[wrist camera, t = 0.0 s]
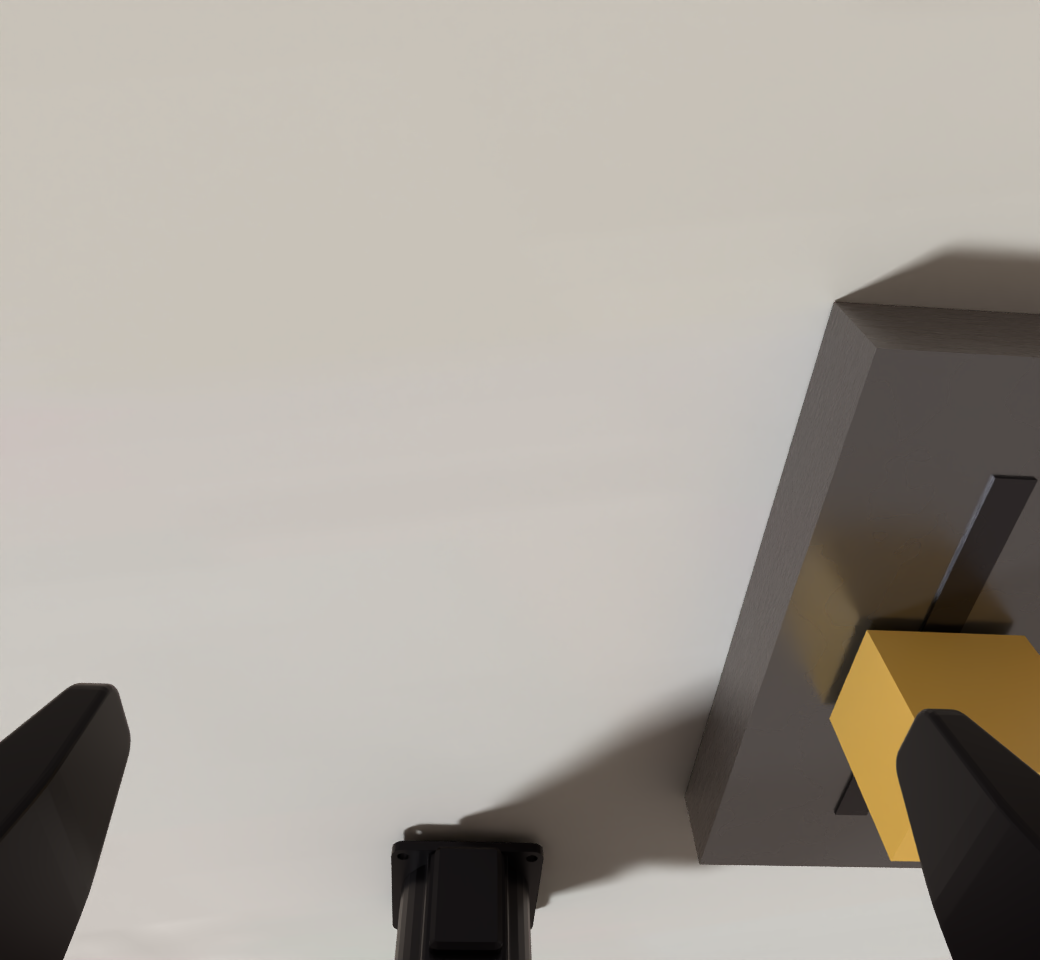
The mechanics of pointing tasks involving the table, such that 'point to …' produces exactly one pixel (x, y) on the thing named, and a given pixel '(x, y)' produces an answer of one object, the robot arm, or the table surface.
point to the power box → (871, 564)
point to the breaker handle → (935, 685)
